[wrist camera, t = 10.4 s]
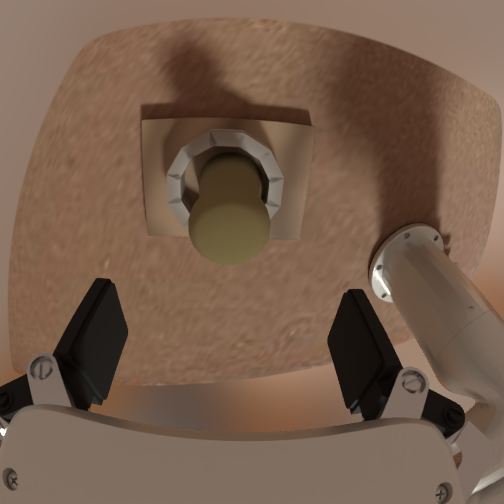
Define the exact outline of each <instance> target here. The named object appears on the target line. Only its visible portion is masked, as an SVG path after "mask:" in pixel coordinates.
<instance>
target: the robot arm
mask: <svg viewBox="0 0 504 504" xmlns="http://www.w3.org/2000/svg"><path fill="white" fill-rule="evenodd" d="M369 282H370V286H371V288H372V290H373V292H374V293H375V295H376V296H377V297H378V298H379V299H381V300H383V301H386V302H394V304H395V305H396V307H397V309H398V310H399V312H400V313H401V315H402V317H403V318H404V320H405V322H406V323H407V325H408V327H409V328H410V330H411V332H412V334H413V335H414V337H415V339H416V340H417V342H418V344H419V346H420V348H421V349H422V351H423V353H424V355H425V356H426V358H427V360H428V362H429V364H430V366H431V368H432V369H433V372H434V374H435V375H436V377H437V379H438V381H439V382H440V384H441V385H442V386H443V387H444V388H446V389H447V390H448V391H450V392H453V393H455V394H460V395H464V396H468V397H471V398H473V399H475V401H476V403H475V405H474V406H473V407H472V408H471V409H470V410H469V411H467V412H466V413H464V410H463V409H462V407H461V406H460V405H459V404H457V403H456V402H454V401H452V400H450V399H448V398H446V397H444V396H442V395H440V394H438V393H436V392H434V391H433V390H430V389H429V381H428V378H427V377H426V375H425V374H424V373H423V372H422V371H420V370H419V369H417V368H414V367H406V368H404V369H403V367H402V365H401V363H400V361H399V358H398V356H397V354H396V352H395V350H394V348H393V346H392V344H391V342H390V340H389V338H388V336H387V333H386V332H385V330H384V328H383V326H382V324H381V322H380V321H379V319H378V317H377V315H376V313H375V311H374V309H373V307H372V305H371V303H370V302H369V300H368V298H367V296H366V294H365V292H364V291H363V290H362V289H349V290H348V291H347V293H344V294H343V297H342V300H341V303H340V305H339V308H338V311H337V314H336V317H335V319H334V322H333V325H332V327H331V330H330V332H329V335H328V346H329V350H330V353H331V356H332V360H333V363H334V366H335V370H336V374H337V377H338V381H339V384H340V388H341V391H342V395H343V398H344V402H345V405H346V408H348V409H349V408H350V412H351V414H357V413H362V417H363V420H362V422H359V423H352V424H346V425H340V426H332V427H324V428H316V429H306V430H295V431H280V432H215V431H200V430H188V429H179V428H170V427H163V426H156V425H149V424H143V423H138V422H132V421H128V420H122V419H118V418H113V417H109V416H104V415H100V414H96V413H92V412H91V410H90V406H91V403H93V404H98V405H102V402H103V400H105V399H107V397H108V393H109V390H110V386H111V384H112V380H113V377H114V374H115V371H116V368H117V365H118V362H119V359H120V356H121V353H122V350H123V347H124V345H125V342H126V339H127V336H128V328H127V325H126V321H125V318H124V315H123V312H122V308H121V305H120V301H119V298H118V294H117V290H116V287H115V284H114V283H112V282H111V280H110V279H105V278H96V280H95V281H94V282H93V284H92V286H91V287H90V289H89V290H88V292H87V294H86V295H85V297H84V299H83V300H82V302H81V304H80V305H79V307H78V309H77V310H76V312H75V314H74V315H73V317H72V319H71V321H70V322H69V324H68V326H67V328H66V330H65V332H64V333H63V335H62V337H61V339H60V341H59V343H58V345H57V347H56V349H55V351H54V353H53V355H51V354H49V353H40V354H38V355H36V356H34V357H33V358H32V359H31V360H30V362H29V363H28V366H27V374H25V375H23V376H21V377H19V378H17V379H15V380H13V381H11V382H9V383H7V384H5V385H3V386H1V387H0V504H504V320H503V319H502V318H501V316H500V315H499V314H498V312H497V311H496V310H495V309H494V308H493V306H492V305H491V304H490V302H489V301H488V300H487V299H486V298H485V297H484V295H483V294H482V293H481V292H480V291H479V290H478V288H477V287H476V286H475V285H474V284H473V283H472V282H471V281H470V279H469V278H468V277H467V276H466V275H465V274H464V273H463V272H462V271H461V270H460V269H459V264H458V263H457V262H453V261H452V260H451V259H450V258H449V257H448V256H447V255H446V254H445V253H444V244H443V240H442V238H441V236H440V234H439V233H438V232H437V231H436V230H435V229H434V228H433V227H431V226H429V225H427V224H422V223H416V224H410V225H407V226H405V227H403V228H401V229H399V230H397V231H396V232H395V233H393V234H392V235H391V236H390V237H389V238H388V239H387V240H386V241H385V242H384V243H383V244H382V245H381V247H380V248H379V249H378V251H377V252H376V254H375V256H374V258H373V260H372V263H371V266H370V271H369Z"/></svg>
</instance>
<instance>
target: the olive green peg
mask: <svg viewBox="0 0 504 504" xmlns="http://www.w3.org/2000/svg"><path fill="white" fill-rule="evenodd" d="M262 181H263V180H262V175H261V171H260V169H259V168H258V166H257V165H256V163H255V162H254V161H253V160H252V159H250V158H249V157H248V156H246V155H243V154H240V153H238V152H225V153H221V154H218V155H216V156H214V157H213V158H211V159H210V160H208V162H207V163H206V164H205V165H204V167H203V168H202V170H201V173H200V176H199V199H198V200H197V201H196V202H195V204H194V205H193V207H192V210H191V213H190V216H189V219H188V230H189V236H190V238H191V241H192V243H193V246H194V247H195V248H196V250H197V251H198V252H199V253H200V254H201V255H202V256H204V257H205V258H207V259H208V260H210V261H211V262H214V263H217V264H220V265H238V264H242V263H245V262H247V261H248V260H250V259H252V258H254V257H256V256H257V255H258V254H259V253H260V252H261V251H262V250H263V248H264V246H265V244H266V242H267V240H268V238H269V234H270V226H271V222H270V217H269V213H268V210H267V207H266V206H265V204H264V203H263V201H262V200H261V190H262Z"/></svg>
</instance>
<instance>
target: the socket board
mask: <svg viewBox="0 0 504 504" xmlns="http://www.w3.org/2000/svg"><path fill="white" fill-rule="evenodd" d="M315 133H316V127H315V126H312V125H305V124H298V123H290V122H281V121H270V120H258V119H243V118H219V117H180V118H156V119H145V120H142V161H143V181H144V196H145V208H146V218H147V228H148V235H149V236H189V230H188V219H189V216H190V213H191V210H192V207H193V205H194V204H195V202H196V201H197V200H198V199H199V176H200V173H201V170H202V168H203V167H204V165H205V164H206V163H207V162H208V160H210V159H211V158H213V157H214V156H216V155H218V154H221V153H225V152H238V153H240V154H243V155H246V156H248V157H249V158H250V159H252V160H253V161H254V162H255V163H256V165H257V166H258V168H259V169H260V171H261V175H262V180H263V181H262V190H261V200H262V201H263V203H264V204H265V206H266V207H267V210H268V213H269V217H270V222H271V226H270V234H269V238H268V239H278V240H299V237H300V232H301V226H302V220H303V214H304V208H305V202H306V196H307V189H308V183H309V176H310V170H311V163H312V156H313V148H314V141H315ZM189 237H190V236H189Z"/></svg>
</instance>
